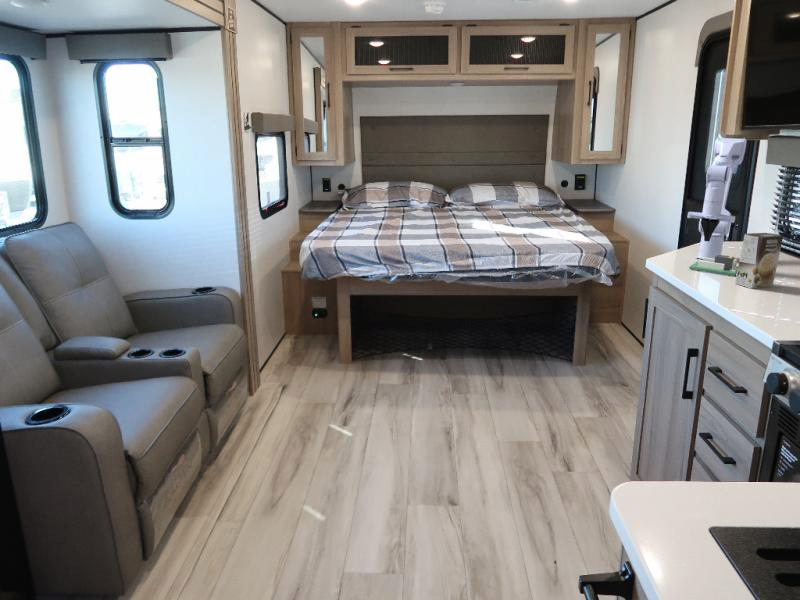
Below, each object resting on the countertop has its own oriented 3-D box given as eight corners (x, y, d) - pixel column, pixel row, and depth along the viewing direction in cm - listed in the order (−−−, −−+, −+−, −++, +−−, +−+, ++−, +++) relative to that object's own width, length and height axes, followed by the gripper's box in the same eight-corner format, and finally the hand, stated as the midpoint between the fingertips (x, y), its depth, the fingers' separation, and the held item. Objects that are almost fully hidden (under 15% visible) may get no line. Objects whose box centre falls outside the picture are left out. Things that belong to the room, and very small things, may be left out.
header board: (697, 263, 218) (699, 251, 217) (741, 270, 210) (743, 257, 209) (689, 269, 209) (691, 256, 208) (734, 276, 201) (736, 263, 200)
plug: (716, 265, 211) (718, 254, 210) (732, 268, 208) (734, 256, 207) (713, 268, 208) (715, 256, 207) (729, 270, 205) (731, 258, 204)
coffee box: (752, 289, 187) (762, 237, 182) (734, 283, 192) (743, 233, 188) (773, 286, 190) (784, 235, 185) (755, 281, 196) (765, 232, 191)
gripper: (687, 200, 209) (681, 239, 213) (734, 204, 200) (727, 245, 204) (693, 198, 214) (687, 236, 218) (739, 202, 205) (732, 242, 209)
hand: (706, 240), depth 211 cm, fingers closed
